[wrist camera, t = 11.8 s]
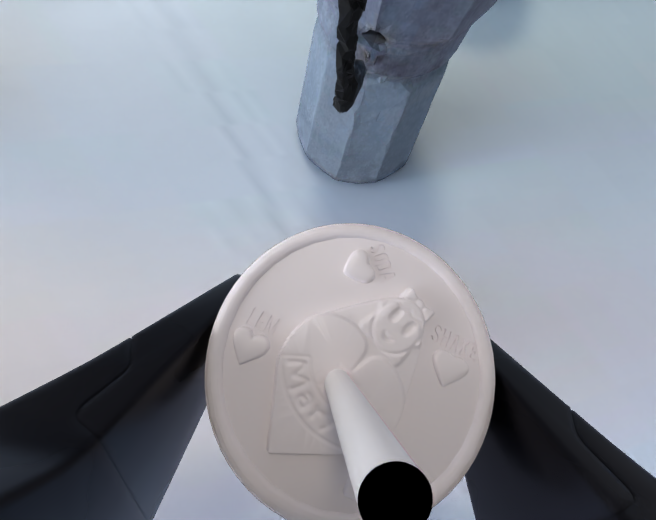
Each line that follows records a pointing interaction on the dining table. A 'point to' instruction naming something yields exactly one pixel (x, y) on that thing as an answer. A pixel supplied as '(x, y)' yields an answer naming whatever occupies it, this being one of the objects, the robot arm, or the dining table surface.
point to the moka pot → (376, 80)
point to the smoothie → (349, 376)
